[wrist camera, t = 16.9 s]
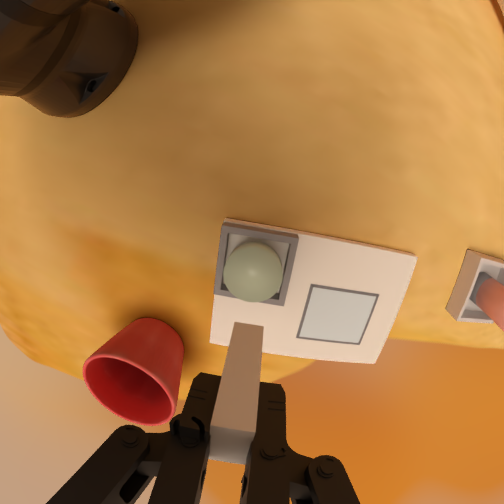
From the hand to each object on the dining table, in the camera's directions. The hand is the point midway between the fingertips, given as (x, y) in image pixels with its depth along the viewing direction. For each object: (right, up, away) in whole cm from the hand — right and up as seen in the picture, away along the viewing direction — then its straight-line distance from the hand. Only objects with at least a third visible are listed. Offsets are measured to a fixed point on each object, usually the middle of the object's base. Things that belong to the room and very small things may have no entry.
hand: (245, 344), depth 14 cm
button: (0, +3, +11) cm, 12 cm away
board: (+7, 0, +15) cm, 16 cm away
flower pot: (-12, -7, +18) cm, 23 cm away
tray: (+29, +1, +12) cm, 32 cm away
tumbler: (+29, 0, +12) cm, 31 cm away
